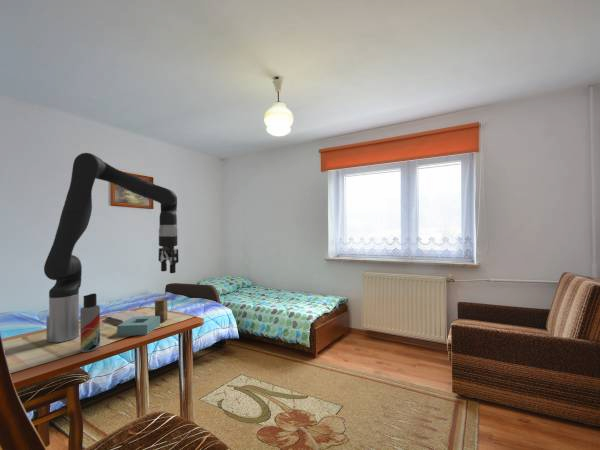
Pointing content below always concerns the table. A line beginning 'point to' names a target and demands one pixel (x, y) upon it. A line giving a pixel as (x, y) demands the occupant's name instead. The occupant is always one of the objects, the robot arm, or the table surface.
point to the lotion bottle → (90, 324)
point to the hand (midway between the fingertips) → (168, 272)
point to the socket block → (138, 326)
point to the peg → (161, 309)
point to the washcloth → (123, 316)
